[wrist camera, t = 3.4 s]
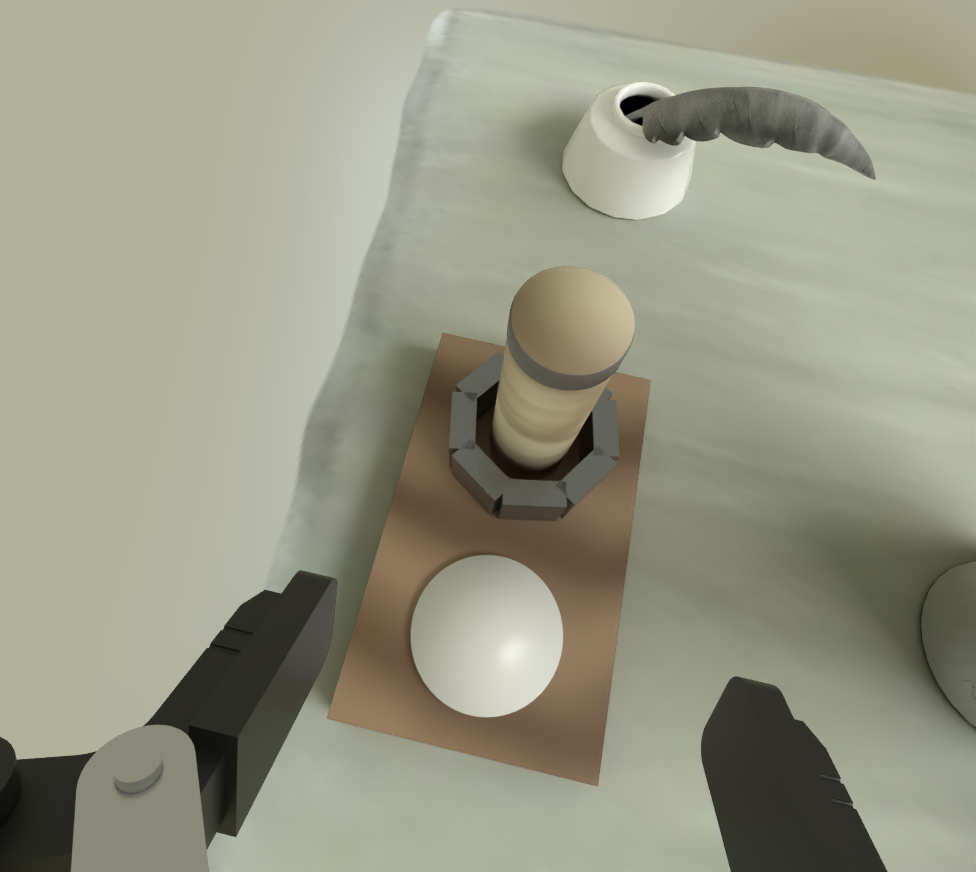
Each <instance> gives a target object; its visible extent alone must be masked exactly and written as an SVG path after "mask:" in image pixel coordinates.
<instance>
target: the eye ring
mask: <svg viewBox="0 0 976 872" xmlns="http://www.w3.org/2000/svg"><path fill="white" fill-rule="evenodd" d="M503 358H504V355H503V354H502V353H501V352H500V351H498V352H497V353H495V354H494V355H493V356H492V357H490V358H489V359H488V360H487V361H485V362H484V363H483V364H482V365H480V366H479V367H478V368H477V369H475V370H474V371H473V372H472V373H470V374H469V375H468V376H467V377H465V378H464V379H463V380H462V381H460V382H459V383H458V384H457V385H456V392H452V406H451V423H450V439H449V468H452V475H453V476H454V477H455V478H456V480H457V481H458V482H459V483H460V484H461V485H462V486H463V487H464V488H465V489H466V490H467V491H468V492H469V493H470V494H471V495H472V496H473V498H474V499H475V500H476V501H477V502H478V503H479V504H480V505H481V506H482V507H483V508H484V509H485V510H486V511H487V512H488V513H489V515H490V516H491V515H492V514H493V513H494V512H495V511H497V510H498V519H509V520H532V521H554V522H555V521H556V520H557V519H558V518H559V516H560V517H561V518H562V519H563V518H564V517H565V516H566V515H567V514H568V513H569V512H570V511H571V510H572V509H573V508H574V507H575V506H576V505H577V504H578V503H579V502H580V501H581V500H582V499H583V498H584V497H585V496H587V495H588V494H589V493H590V492H591V491H592V490H593V489H594V488H595V487H596V486H597V485H598V484H599V483H600V482H601V481H602V480H603V479H604V477H605V476H606V475H607V474H608V473H609V472H610V471H611V470H612V468H613V467H614V466H615V465H616V464H617V463H616V462H615V461H616V460H617V459H618V458H619V457H620V455H619V438H618V421H617V405H616V400H609V399H610V398H611V396H612V394H613V393H612V392H611V391H609V390H608V389H607V388H606V387H605V388H604V390H603V392H602V394H601V395H600V397H599V399H598V400H597V402H596V404H595V406H594V407H593V409H592V411H591V412H590V414H589V416H588V418H587V419H586V421H585V423H584V424H583V426H582V428H581V430H580V431H579V444H580V463H579V464H578V465H577V466H576V467H575V468H574V469H573V470H572V471H571V472H569V473H568V474H567V475H566V476H565V477H564V478H563V479H562V480H561V481H542V480H521V479H509V478H508V477H507V476H506V475H505V474H504V473H503V472H502V471H501V470H500V469H499V468H498V467H497V466H496V465H495V463H494V462H493V461H492V460H491V459H490V458H489V457H488V456H487V455H486V454H485V453H484V452H483V451H482V450H481V449H480V448H479V447H478V446H477V445H476V444H475V434H476V421H477V420H478V419H479V418H481V417H482V416H483V415H484V414H485V413H486V412H488V411H489V410H490V409H491V408H492V407H494V406H495V405H496V399H497V393H498V387H499V381H500V376H501V370H502V364H503Z"/></svg>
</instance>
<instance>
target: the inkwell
mask: <svg viewBox="0 0 976 872" xmlns="http://www.w3.org/2000/svg"><path fill="white" fill-rule="evenodd" d="M720 133H722V134H724V135H725V136H726V137H728V138H729V139H731V140H733V141H735V142H738V143H741V144H744V145H748V146H753V147H760V148H769V147H770V146H771V145H772V144H773V143H774V142H775V143H777V144H779V145H780V146H782V147H784V148H786V149H789V150H794V151H800V152H807V153H819V154H820V155H822V156H823V157H825V158H827V159H830V160H834V161H837V162H840V163H842V164H844V165H846V166H848V167H850V168H852V169H854V170H856V171H857V172H859V173H861V174H863V175H865V176H867V177H869V178H871V179H874V180H876V179H875V173H874V169H873V165H872V161H871V159H870V157H869V155H868V153H867V152H866V151H865V149H864V148H863V146H862V145H861V144H860V142H859V141H858V140H857V138H856V137H855V136H854V135H853V133H852V132H851V131H850V130H849V129H848V127H847V126H846V125H845V124H844V123H843V122H842V121H840V120H839V119H838V118H836V117H835V116H834V115H832V114H831V113H830V112H828V111H827V110H826V109H824V108H823V107H822V106H820V105H819V104H817V103H816V102H814V101H812V100H810V99H807V98H805V97H802V96H798V95H795V94H791V93H787V92H784V91H780V90H775V89H769V88H758V87H722V88H709V89H701V90H695V91H690V92H686V93H682V94H678V95H675V94H673V93H672V92H671V91H670V90H668V89H667V88H665V87H663V86H660V85H658V84H655V83H650V82H635V83H633V82H630V83H624V84H619V85H614V86H611V87H609V88H607V89H606V90H604V91H602V92H600V93H599V94H597V95H596V97H595V98H594V100H593V102H592V103H591V105H590V106H589V108H588V110H587V111H586V113H585V115H584V116H583V118H582V120H581V121H580V123H579V125H578V126H577V128H576V130H575V132H574V133H573V135H572V137H571V139H570V140H569V142H568V144H567V146H566V148H565V149H564V151H563V164H562V172H563V174H564V176H565V178H566V180H567V182H568V184H569V186H570V188H571V190H572V192H573V193H574V194H576V195H577V196H578V197H579V198H580V199H581V200H582V201H583V202H584V203H585V204H587V205H588V206H589V207H590V208H592V209H595V210H597V211H599V212H602V213H604V214H606V215H609V216H611V217H614V218H623V219H632V220H642V219H646V218H651V217H655V216H659V215H662V214H664V213H666V212H667V211H669V210H670V209H671V208H673V207H674V206H676V205H677V204H679V203H680V202H681V201H682V199H683V197H684V195H685V193H686V190H687V188H688V186H689V184H690V178H691V172H692V167H693V161H694V155H695V148H696V141H709V140H713V139H715V138H718V137H719V134H720Z"/></svg>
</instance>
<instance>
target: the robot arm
mask: <svg viewBox="0 0 976 872" xmlns="http://www.w3.org/2000/svg"><path fill="white" fill-rule="evenodd" d="M336 593H337V580H336V579H335V578H331V577H327V576H323V575H318V574H314V573H310V572H306V571H302V570H300V571H298V572H297V573H296V574H295V576H294V577H293V578H292V580H291V581H290V583H289V584H288V585H287V587H286V588H285V590H284V591H283V592H282V594H280V593H276V592H272V591H268V590H264V591H262V592H261V593H259V594H258V595H256V596H255V597H253V598H251V599H250V600H248V601H247V602H245V603H243V604H242V605H241V606H240V607H239V608H238V609H237V611H236V612H235V613H234V615H233V616H232V617H231V618H230V620H229V621H228V622H227V623H226V625H225V626H224V629H223V630H221V631H220V632H219V634H218V635H217V636H216V637H215V638H214V640H213V641H212V642H211V644H210V647H209V648H207V649H206V650H205V651H204V652H203V654H202V655H201V656H200V658H199V659H198V660H197V661H196V663H195V664H194V665H193V666H192V668H191V669H190V670H189V671H188V673H187V674H186V675H185V676H184V678H183V679H182V680H181V682H180V683H179V684H178V685H177V687H176V688H175V689H174V691H173V692H172V693H171V694H170V695H169V697H168V698H167V699H166V700H165V702H164V703H163V704H162V706H161V707H160V708H159V709H158V711H157V712H156V713H155V714H154V716H153V717H152V718H151V719H150V720H149V721H148V722H147V723H146V724H145V725H144V726H143V727H139V728H136V729H133V730H130V731H127V732H125V733H123V734H121V735H119V736H117V737H115V738H114V739H112V740H111V741H109V742H108V743H106V744H105V745H104V746H103V747H101V748H100V749H99V750H98V751H96V752H92V753H88V754H82V755H74V756H60V757H47V758H34V759H21V760H16V755H15V751H14V749H13V747H12V745H11V744H10V743H9V742H8V741H7V740H5V739H3V738H1V737H0V872H209V867H208V859H207V849H208V847H209V845H210V843H211V841H212V839H213V838H214V836H215V834H216V832H218V833H222V834H226V835H230V836H234V837H236V836H237V834H238V832H239V830H240V828H241V826H242V824H243V822H244V820H245V818H246V816H247V814H248V812H249V810H250V808H251V806H252V804H253V802H254V800H255V798H256V796H257V794H258V793H259V791H260V789H261V787H262V785H263V783H264V781H265V779H266V777H267V775H268V773H269V771H270V769H271V767H272V765H273V763H274V761H275V759H276V757H277V755H278V753H279V751H280V749H281V747H282V745H283V743H284V741H285V739H286V737H287V735H288V733H289V731H290V729H291V727H292V726H293V724H294V722H295V720H296V718H297V716H298V714H299V712H300V710H301V708H302V706H303V704H304V702H305V700H306V698H307V696H308V694H309V692H310V690H311V688H312V686H313V684H314V682H315V680H316V678H317V676H318V674H319V672H320V670H321V668H322V666H323V664H324V661H325V659H326V656H327V653H328V650H329V646H330V642H331V637H332V629H333V620H334V611H335V602H336ZM921 628H922V638H923V645H924V649H925V652H926V656H927V660H928V663H929V666H930V668H931V670H932V672H933V674H934V676H935V678H936V680H937V683H938V685H939V686H940V687H941V689H942V690H943V692H944V693H945V695H946V696H947V698H948V699H949V701H950V702H951V704H952V705H953V706H954V707H955V708H956V709H957V710H958V711H959V712H960V713H961V714H962V716H963V717H964V718H965V719H966V720H967V721H968V722H969V723H971V724H972V725H973V726H975V727H976V562H970V563H964V564H962V565H959V566H956V567H954V568H951V569H949V570H948V571H947V572H946V573H944V574H943V575H942V576H940V577H939V578H938V579H937V580H936V582H935V583H934V585H933V586H932V587H931V589H930V590H929V592H928V595H927V598H926V600H925V603H924V606H923V613H922V621H921ZM701 757H702V763H703V767H704V771H705V775H706V778H707V782H708V786H709V790H710V794H711V797H712V801H713V805H714V809H715V813H716V816H717V820H718V824H719V828H720V832H721V835H722V839H723V843H724V847H725V851H726V854H727V858H728V862H729V866H730V870H731V872H887V870H886V868H885V866H884V864H883V862H882V860H881V858H880V856H879V854H878V852H877V850H876V848H875V846H874V844H873V842H872V840H871V838H870V836H869V834H868V832H867V830H866V828H865V826H864V824H863V822H862V820H861V818H860V816H859V814H858V812H857V810H856V809H853V806H852V804H853V802H852V800H851V798H850V796H849V794H848V792H847V790H846V788H845V786H844V784H841V782H840V779H841V778H840V776H839V774H838V772H837V770H836V768H835V766H834V764H833V762H832V760H831V758H830V756H829V754H828V752H827V750H826V748H825V747H824V746H823V745H822V743H821V742H820V741H819V740H818V739H817V737H816V736H815V735H814V734H813V733H812V732H811V730H810V729H809V728H808V727H807V726H806V724H805V723H804V722H803V721H799V720H795V719H794V718H793V716H792V714H791V712H790V709H789V707H788V705H787V703H786V701H785V699H784V696H783V694H782V693H781V691H780V690H779V688H777V687H776V686H774V685H771V684H766V683H762V682H758V681H754V680H750V679H746V678H741V677H736V676H735V677H733V678H731V680H730V681H729V682H728V684H727V686H726V688H725V690H724V692H723V693H722V695H721V697H720V699H719V701H718V703H717V705H716V707H715V709H714V711H713V713H712V715H711V716H710V718H709V720H708V722H707V724H706V726H705V728H704V731H703V735H702V741H701Z"/></svg>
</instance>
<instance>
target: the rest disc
mask: <svg viewBox="0 0 976 872" xmlns="http://www.w3.org/2000/svg"><path fill="white" fill-rule="evenodd" d="M562 646H563V626H562V620H561V615H560V612H559V609H558V606H557V603H556V601H555V599H554V597H553V595H552V593H551V592H550V590H549V588H548V587H547V586H546V584H545V583H544V582H543V581H542V580H541V578H540V577H538V576H537V575H536V574H535V573H534V572H533V571H532V570H530V569H529V568H528V567H526V566H524V565H523V564H521V563H519V562H517V561H514V560H512V559H509V558H506V557H502V556H495V555H478V556H472V557H468V558H465V559H461V560H459V561H457V562H455V563H453V564H451V565H449V566H448V567H446V568H444V569H443V570H442V571H441V572H440V573H438V574H437V575H436V576H435V577H434V578H433V579H432V580H431V581H430V583H429V584H428V585H427V587H426V588H425V589H424V591H423V593H422V594H421V596H420V598H419V600H418V603H417V605H416V607H415V611H414V614H413V618H412V624H411V648H412V654H413V658H414V662H415V664H416V667H417V670H418V672H419V674H420V676H421V678H422V680H423V681H424V683H425V684H426V686H427V687H428V688H429V690H430V691H431V692H432V693H433V694H434V695H435V696H436V697H437V698H438V699H439V700H441V701H442V702H443V703H444V704H446V705H447V706H449V707H451V708H452V709H454V710H456V711H459V712H461V713H464V714H467V715H471V716H476V717H498V716H503V715H507V714H510V713H513V712H515V711H517V710H519V709H521V708H523V707H525V706H526V705H528V704H529V703H531V702H532V701H533V700H535V699H536V698H537V697H538V696H539V695H540V694H541V693H542V692H543V690H544V689H545V688H546V687H547V685H548V684H549V682H550V681H551V679H552V677H553V676H554V674H555V671H556V669H557V667H558V664H559V661H560V657H561V652H562Z"/></svg>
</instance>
